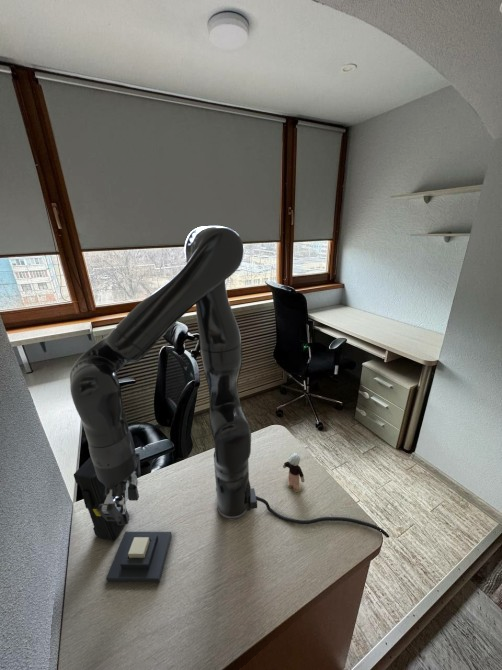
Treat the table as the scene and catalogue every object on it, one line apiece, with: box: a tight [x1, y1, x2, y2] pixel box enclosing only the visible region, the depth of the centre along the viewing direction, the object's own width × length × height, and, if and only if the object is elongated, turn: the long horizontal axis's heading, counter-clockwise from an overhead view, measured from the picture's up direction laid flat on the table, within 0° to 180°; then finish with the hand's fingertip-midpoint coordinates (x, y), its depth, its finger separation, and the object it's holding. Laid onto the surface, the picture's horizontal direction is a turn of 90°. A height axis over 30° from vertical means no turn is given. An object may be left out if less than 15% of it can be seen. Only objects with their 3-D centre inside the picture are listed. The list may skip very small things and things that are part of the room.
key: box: [128, 537, 150, 558], centre depth 64 cm, size 4×4×2 cm
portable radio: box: [73, 456, 130, 542], centre depth 67 cm, size 8×6×25 cm
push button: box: [105, 531, 173, 584], centre depth 65 cm, size 12×10×4 cm
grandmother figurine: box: [282, 453, 305, 493], centre depth 81 cm, size 8×4×13 cm, turn 58°
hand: (129, 509), depth 59 cm, fingers open, 4 cm apart
